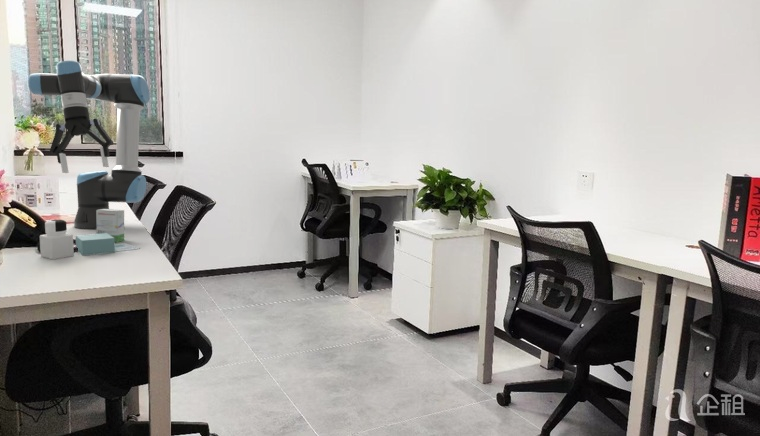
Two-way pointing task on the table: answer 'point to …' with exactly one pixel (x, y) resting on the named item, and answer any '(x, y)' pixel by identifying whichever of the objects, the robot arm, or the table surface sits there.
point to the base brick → (95, 244)
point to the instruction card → (124, 247)
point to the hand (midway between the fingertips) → (85, 169)
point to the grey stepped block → (56, 240)
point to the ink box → (111, 223)
